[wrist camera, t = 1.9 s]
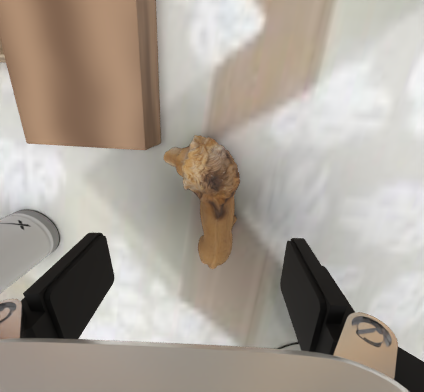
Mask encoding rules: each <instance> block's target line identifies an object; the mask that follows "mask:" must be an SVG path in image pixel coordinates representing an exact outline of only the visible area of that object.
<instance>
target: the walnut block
mask: <svg viewBox="0 0 424 392" xmlns="http://www.w3.org/2000/svg"><path fill="white" fill-rule="evenodd" d="M0 40H1V44H2V48H3V52H4V56H5V60H6V64H7V68H8V72H9V75H10V79H11V83H12V87H13V91H14V95H15V99H16V103H17V107H18V111H19V115H20V119H21V123H22V127H23V130H24V134H25V138H26V142H27V143H28V144H46V145H64V146H81V147H99V148H117V149H134V150H147V149H149V148H151V147H154V146H156V145H158V144H160V143H161V129H160V101H159V74H158V46H157V18H156V0H0Z"/></svg>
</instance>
